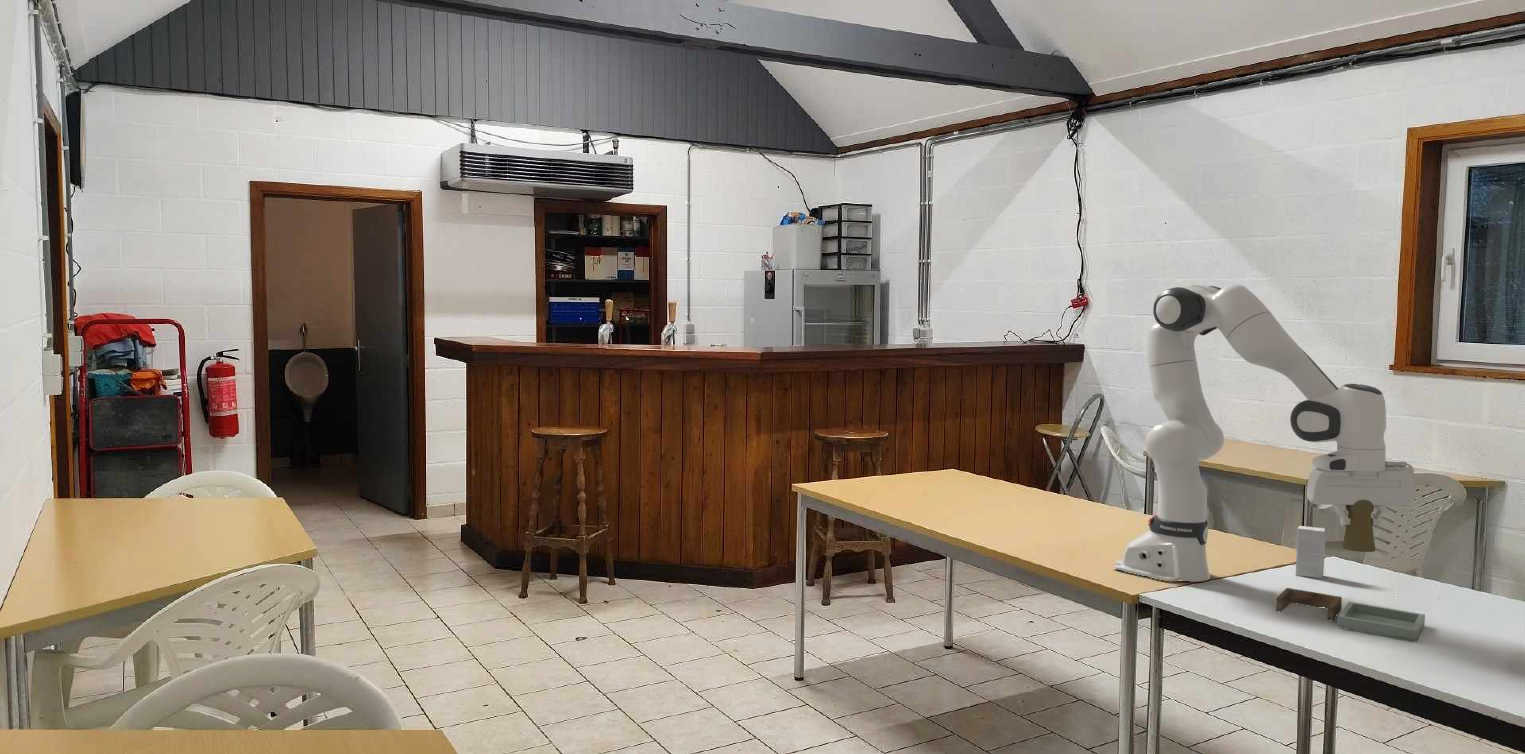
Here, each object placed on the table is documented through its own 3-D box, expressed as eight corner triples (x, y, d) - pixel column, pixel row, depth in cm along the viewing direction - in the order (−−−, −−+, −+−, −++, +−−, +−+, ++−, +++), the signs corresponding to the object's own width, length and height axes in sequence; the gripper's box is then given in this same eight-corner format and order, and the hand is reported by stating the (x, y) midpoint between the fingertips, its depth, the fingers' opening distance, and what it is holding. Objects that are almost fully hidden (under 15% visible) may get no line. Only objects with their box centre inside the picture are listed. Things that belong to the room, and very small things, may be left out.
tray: (1337, 627, 210) (1337, 616, 210) (1348, 612, 221) (1349, 601, 221) (1416, 642, 202) (1417, 630, 202) (1424, 625, 213) (1425, 614, 212)
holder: (1275, 611, 221) (1276, 597, 221) (1286, 600, 230) (1287, 587, 229) (1332, 621, 215) (1333, 607, 214) (1341, 610, 223) (1341, 597, 222)
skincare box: (1323, 575, 252) (1326, 528, 251) (1322, 579, 249) (1325, 531, 248) (1296, 571, 255) (1298, 525, 255) (1294, 575, 252) (1297, 528, 251)
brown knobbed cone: (1361, 552, 210) (1362, 500, 209) (1335, 547, 216) (1336, 496, 215) (1382, 550, 212) (1383, 498, 211) (1356, 545, 218) (1358, 494, 217)
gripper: (1406, 459, 215) (1405, 524, 215) (1304, 458, 217) (1303, 522, 218) (1421, 463, 208) (1420, 529, 209) (1316, 462, 211) (1315, 527, 212)
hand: (1359, 526), depth 214 cm, fingers closed on brown knobbed cone, 4 cm apart
